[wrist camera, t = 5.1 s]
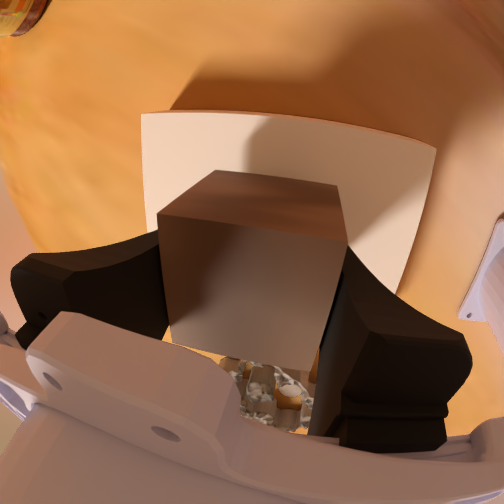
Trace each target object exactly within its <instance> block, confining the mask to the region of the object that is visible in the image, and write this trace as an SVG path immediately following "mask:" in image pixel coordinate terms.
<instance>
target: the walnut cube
mask: <svg viewBox="0 0 504 504" xmlns="http://www.w3.org/2000/svg"><path fill="white" fill-rule="evenodd" d="M157 227H158V238H159V248H160V258H161V267H162V275H163V283H164V291H165V298H166V305H167V312H168V319H169V325H170V331H171V337H172V343H175V344H179V345H183V346H187V347H190V348H194V349H198V350H202V351H206V352H210V353H215V354H219V355H223V356H228V357H232V358H237V359H241V360H246V361H251V362H256V363H261V364H267V365H272V366H278V367H283V368H289V369H295V370H302V371H309V372H311V369H312V366H313V363H314V360H315V357H316V354H317V351H318V348H319V345H320V342H321V339H322V336H323V332H324V329H325V326H326V323H327V319H328V316H329V313H330V309H331V306H332V302H333V299H334V295H335V292H336V288H337V284H338V281H339V277H340V273H341V269H342V266H343V262H344V258H345V254H346V249H347V245H348V238H347V232H346V227H345V221H344V216H343V211H342V206H341V201H340V196H339V192H338V187H337V186H336V185H331V184H325V183H318V182H312V181H306V180H299V179H292V178H285V177H277V176H270V175H261V174H253V173H244V172H235V171H225V170H214V171H213V172H211V173H210V174H208V175H207V176H206V177H204V178H203V179H202V180H200V181H199V182H197V183H196V184H195V185H193V186H192V187H191V188H189V189H188V190H187V191H185V192H184V193H183V194H181V195H180V196H179V197H177V198H176V199H175V200H173V201H172V202H171V203H169V204H168V205H167V206H165V207H164V208H163V209H162V210H160V211H159V212H158V213H157Z"/></svg>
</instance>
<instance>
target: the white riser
mask: <svg viewBox="0 0 504 504" xmlns="http://www.w3.org/2000/svg"><path fill="white" fill-rule="evenodd" d="M141 136H142V166H143V184H144V199H145V211H146V222H147V232H148V233H149V232H152V231H155V230H157V229H158V227H157V213H158V212H159V211H160V210H162V209H163V208H164V207H165V206H167V205H168V204H169V203H171V202H172V201H173V200H175V199H176V198H177V197H179V196H180V195H181V194H183V193H184V192H185V191H187V190H188V189H189V188H191V187H192V186H193V185H195V184H196V183H197V182H199V181H200V180H202V179H203V178H204V177H206V176H207V175H208V174H210V173H211V172H213V171H214V170H225V171H235V172H244V173H253V174H261V175H270V176H277V177H285V178H292V179H299V180H306V181H312V182H318V183H325V184H331V185H336V186H337V187H338V192H339V196H340V201H341V206H342V211H343V216H344V221H345V227H346V232H347V238H348V246H349V247H350V248H351V249H352V250H353V252H354V253H355V254H356V255H357V257H358V258H359V259H360V260H361V261H362V263H363V264H364V265H365V266H366V267H367V268H368V269H369V270H370V272H371V273H372V274H373V275H374V276H375V277H376V278H377V279H378V280H379V281H380V282H381V283H382V284H383V285H384V286H386V287H387V288H388V289H389V290H390V291H391V292H393V293H394V294H395V292H396V290H397V287H398V285H399V282H400V279H401V277H402V274H403V271H404V268H405V265H406V263H407V260H408V257H409V254H410V251H411V248H412V245H413V242H414V238H415V235H416V232H417V229H418V225H419V222H420V218H421V215H422V211H423V208H424V204H425V200H426V196H427V192H428V188H429V184H430V180H431V175H432V171H433V166H434V161H435V156H436V151H437V148H435V147H432V146H430V145H428V144H426V143H424V142H421V141H419V140H416V139H413V138H409V137H405V136H401V135H397V134H393V133H389V132H385V131H380V130H376V129H371V128H367V127H362V126H357V125H351V124H346V123H340V122H334V121H328V120H322V119H315V118H308V117H300V116H292V115H283V114H273V113H261V112H248V111H229V110H165V111H158V112H151V113H144V114H141Z"/></svg>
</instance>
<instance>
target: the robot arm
mask: <svg viewBox="0 0 504 504" xmlns="http://www.w3.org/2000/svg"><path fill="white" fill-rule="evenodd" d="M10 281H11V286H12V289H13V292H14V295H15V297H16V299H17V302H18V304H19V306H20V308H21V311H22V313H23V315H24V317H25V319H26V321H27V322H26V323H25V324H24V325H23V326H22V327H21V328H20V329H19V330H18V332H15V331H13V330H11V329H10V328H9V327H8V324H7V321H6V320H5V318H4V316H3V314H2V313H1V312H0V401H1V402H2V403H3V404H4V405H5V406H6V407H7V408H9V409H10V410H11V411H12V412H13V413H14V414H15V415H16V416H18V417H19V418H20V419H21V420H22V421H23V422H22V424H21V425H20V427H19V428H18V430H17V431H16V433H15V434H14V436H13V437H12V439H11V441H10V442H9V444H8V445H7V447H6V449H5V450H4V451H3V453H2V455H1V456H0V504H484V503H486V502H488V501H490V500H492V499H494V498H496V497H498V496H499V495H501V494H503V493H504V417H500V418H494V419H489V420H486V421H484V422H483V423H481V424H480V425H478V426H477V427H476V428H475V429H474V430H473V431H472V432H471V434H468V435H460V436H452V437H447V435H446V429H445V423H444V418H446V417H447V416H448V413H449V411H448V407H447V402H448V401H449V400H450V399H451V398H452V397H453V396H454V394H455V393H456V392H457V391H458V390H459V389H460V387H461V386H462V385H463V384H464V382H465V381H466V379H467V378H468V376H469V374H470V372H471V369H472V366H473V363H472V356H471V353H470V350H469V348H468V345H467V343H466V340H465V338H464V335H463V334H462V333H460V332H458V331H455V330H453V329H451V328H449V327H447V326H444V325H442V324H440V323H438V322H436V321H434V320H433V319H431V318H429V317H427V316H426V315H424V314H422V313H421V312H419V311H417V310H416V309H414V308H413V307H411V306H410V305H408V304H407V303H406V302H404V301H403V300H401V299H400V298H399V297H397V296H396V295H395V294H394V293H393V292H391V291H390V290H389V289H388V288H387V287H386V286H384V285H383V284H382V283H381V282H380V281H379V280H378V279H377V278H376V277H375V276H374V275H373V274H372V273H371V272H370V270H369V269H368V268H367V267H366V266H365V265H364V264H363V263H362V261H361V260H360V259H359V258H358V257H357V255H356V254H355V253H354V252H353V250H352V249H351V248H350V247H349V246H348V245H347V249H346V254H345V258H344V262H343V266H342V269H341V273H340V277H339V281H338V284H337V288H336V292H335V295H334V299H333V302H332V306H331V309H330V313H329V316H328V319H327V323H326V326H325V329H324V332H323V336H322V339H321V342H320V345H319V363H318V372H317V380H316V387H315V394H314V400H313V406H312V412H311V418H310V423H309V429H308V434H307V435H303V434H295V433H290V432H287V431H283V430H280V429H277V428H274V427H271V426H268V425H265V424H263V423H260V422H257V421H254V420H251V419H249V418H246V417H243V416H241V414H240V404H241V395H240V393H239V390H238V388H237V385H236V383H235V380H234V378H233V377H232V376H231V375H230V374H228V373H227V372H226V371H225V370H224V369H222V368H221V367H220V366H219V365H218V364H216V363H215V362H214V361H213V360H212V359H211V358H208V357H206V356H203V355H201V354H199V353H196V352H194V351H192V350H189V349H187V348H185V347H182V346H178V345H175V344H171V343H168V342H164V341H162V338H163V336H164V334H165V332H166V330H167V328H168V326H169V319H168V312H167V305H166V298H165V291H164V283H163V275H162V267H161V258H160V248H159V238H158V229H157V230H155V231H152V232H149V233H146V234H144V235H141V236H138V237H135V238H132V239H129V240H126V241H123V242H119V243H115V244H112V245H107V246H102V247H97V248H92V249H87V250H80V251H71V252H60V253H32V254H29V255H28V256H27V257H25V258H24V259H23V260H22V261H20V262H19V263H18V264H16V265H15V266H14V267H13V268H12V270H11V278H10ZM468 313H469V314H468ZM458 317H459V318H460V319H461V320H471V321H481V322H488V324H489V326H490V328H491V330H492V332H493V334H494V336H495V338H496V340H497V342H498V345H499V347H500V349H501V351H502V353H503V355H504V219H499V220H498V221H497V223H496V225H495V228H494V231H493V233H492V236H491V239H490V242H489V244H488V247H487V250H486V252H485V255H484V257H483V259H482V262H481V264H480V267H479V269H478V271H477V274H476V276H475V278H474V280H473V282H472V285H471V287H470V289H469V291H468V293H467V295H466V297H465V299H464V301H463V303H462V305H461V307H460V309H459V311H458Z"/></svg>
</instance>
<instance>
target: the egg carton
mask: <svg viewBox="0 0 504 504" xmlns="http://www.w3.org/2000/svg"><path fill="white" fill-rule="evenodd" d="M248 362H250V363H251V364H252V365H254V367H253V368H252V370H251V373H250V377H249V380H247V379H245V378H242V376H243V372H244V369H245V366H246V363H247V361H246V360H241V359H240V360H234V359H231V358H228V357H226V358H224V359H222V360H221V361H220V363H219V366H220V367H221V368H222V369H224V370H225V371H226V372H227V373H228V374H230V375H231V376H232V377H233V378H234V380H235V383H236V385H237V388H238V390H239V393H240V395H241V404H240V414H241V415H242V416H243V417H246V418H249V419H251V420H254V421H257V422H260V423H263V424H265V425H268V426H271V427H274V428H277V429H280V430H283V431H287V432H289V431H292V432H295V431H296V429H298V428H301V427H303V428H304V429H307V428H308V427H309V423H310V418H311V412H312V406H313V400H314V394H315V387H316V384H313V383H310V382H308V379H309V378H308V377H309V371H302V370H295V369H289V368H283V367H278V366H274V367H275V368H276V369H274V368H273V367H271V366H269V365H266V364H261V363H256V362H251V361H248ZM276 381H277V386H278V387H279V392H280V393H281V394H282V395H284V396H287V397H297V396H299V395H301V394H302V397H301V402H303V403H302V408H301V410H298V411H296V410H293V409H279V408H277V400H276V398H275V397H274V389H275V384H276ZM302 392H303V393H302Z"/></svg>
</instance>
